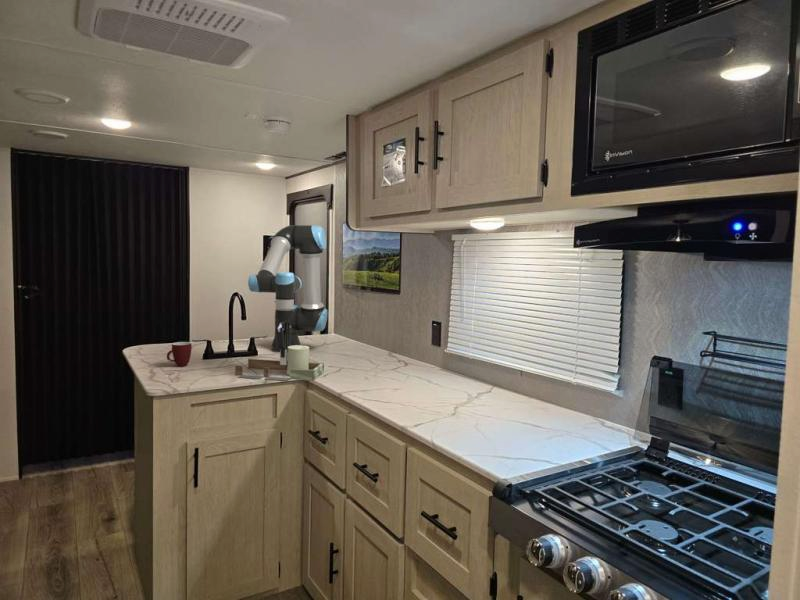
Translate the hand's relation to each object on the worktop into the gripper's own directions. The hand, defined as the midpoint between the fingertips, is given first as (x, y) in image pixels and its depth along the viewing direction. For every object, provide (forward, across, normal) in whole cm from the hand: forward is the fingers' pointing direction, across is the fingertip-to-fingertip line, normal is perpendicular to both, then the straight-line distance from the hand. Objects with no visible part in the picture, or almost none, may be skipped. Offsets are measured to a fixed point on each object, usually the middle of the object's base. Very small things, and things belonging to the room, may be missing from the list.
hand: (283, 364), depth 227 cm
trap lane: (+4, 0, -2) cm, 5 cm away
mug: (+5, -2, -49) cm, 49 cm away
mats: (+4, +9, -5) cm, 11 cm away
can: (+4, -2, +6) cm, 7 cm away
